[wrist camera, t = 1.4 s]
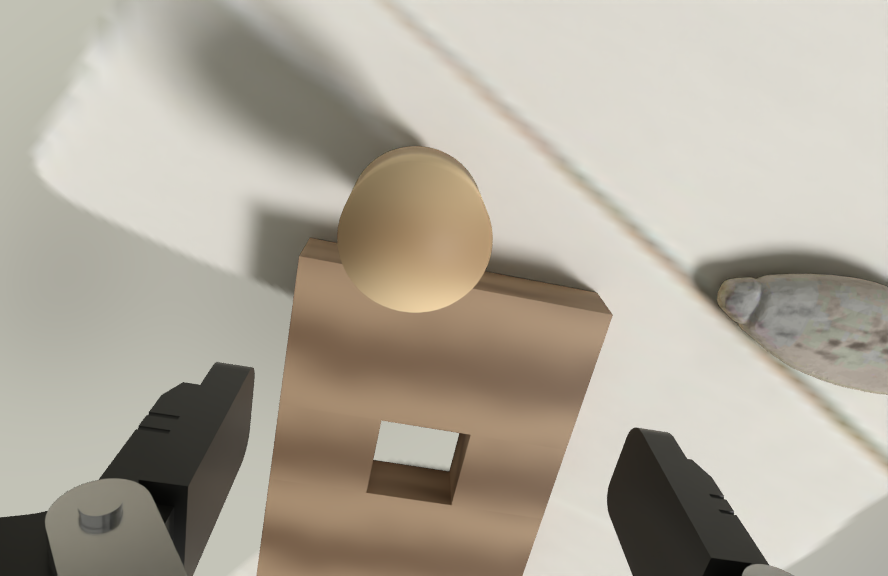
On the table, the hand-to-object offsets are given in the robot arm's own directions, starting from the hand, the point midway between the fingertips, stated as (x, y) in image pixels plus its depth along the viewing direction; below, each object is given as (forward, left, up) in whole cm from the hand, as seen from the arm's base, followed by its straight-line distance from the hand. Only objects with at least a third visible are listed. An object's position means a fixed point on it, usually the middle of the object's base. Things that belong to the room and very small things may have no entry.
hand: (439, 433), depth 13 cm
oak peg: (-1, -1, -20) cm, 20 cm away
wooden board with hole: (+14, +2, -20) cm, 25 cm away
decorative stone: (+2, +24, -21) cm, 32 cm away
